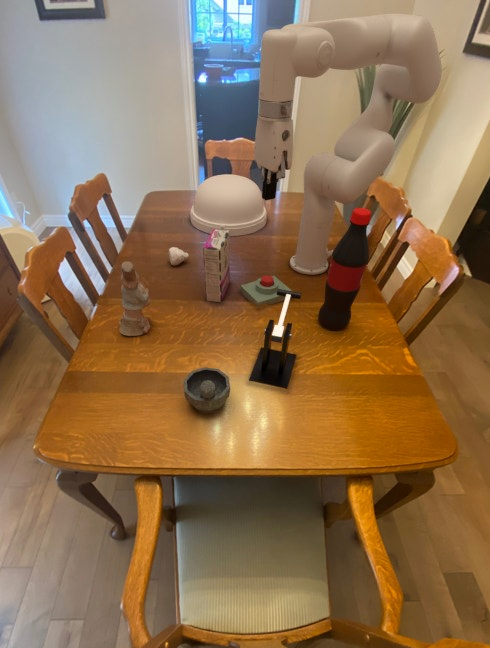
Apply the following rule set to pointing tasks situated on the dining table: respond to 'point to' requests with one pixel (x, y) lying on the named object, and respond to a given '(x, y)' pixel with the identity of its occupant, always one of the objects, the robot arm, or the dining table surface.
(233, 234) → the dome cover
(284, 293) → the lever
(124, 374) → the dining table surface
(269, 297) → the control block
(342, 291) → the cola bottle
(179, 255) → the garlic bulb
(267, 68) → the robot arm
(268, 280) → the button
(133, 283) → the figurine
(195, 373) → the mortar and pestle
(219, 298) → the candy bar box
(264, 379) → the bracket
